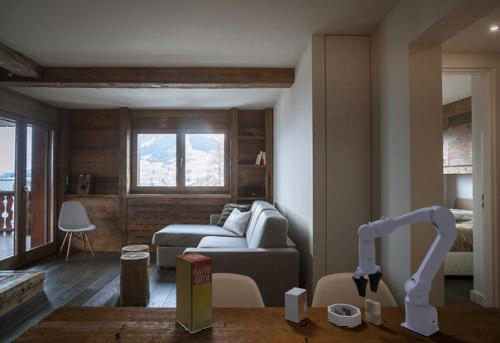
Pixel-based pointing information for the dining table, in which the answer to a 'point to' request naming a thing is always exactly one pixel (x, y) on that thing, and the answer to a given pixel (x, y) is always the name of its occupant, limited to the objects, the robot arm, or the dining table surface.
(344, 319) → the bowl
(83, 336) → the dining table surface
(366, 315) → the wood grain plank
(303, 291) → the small box
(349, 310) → the clip
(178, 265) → the food packaging
